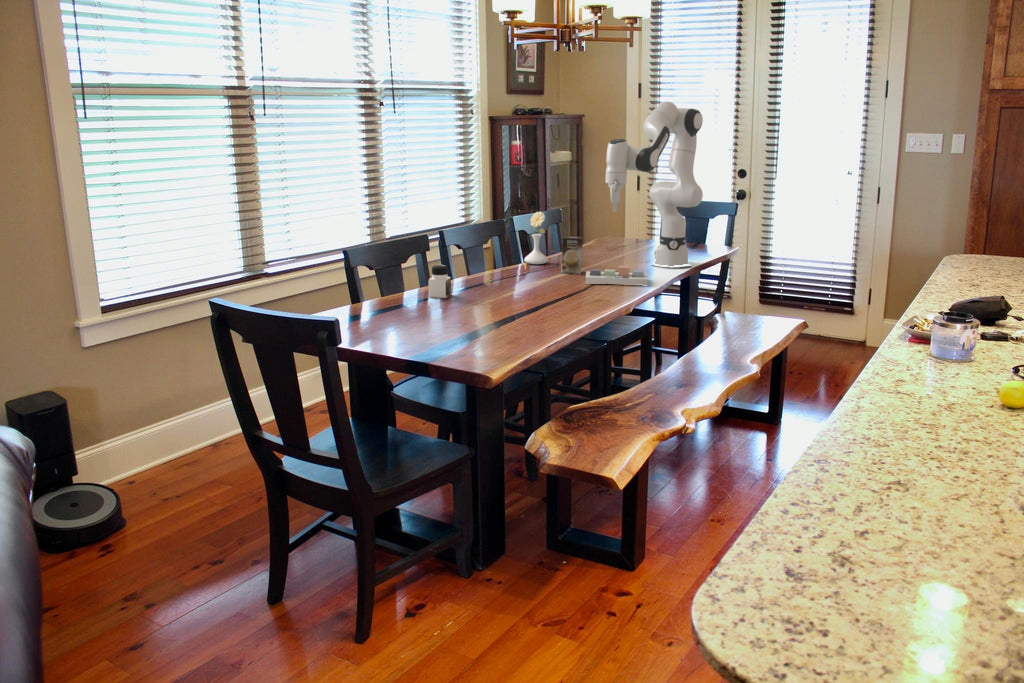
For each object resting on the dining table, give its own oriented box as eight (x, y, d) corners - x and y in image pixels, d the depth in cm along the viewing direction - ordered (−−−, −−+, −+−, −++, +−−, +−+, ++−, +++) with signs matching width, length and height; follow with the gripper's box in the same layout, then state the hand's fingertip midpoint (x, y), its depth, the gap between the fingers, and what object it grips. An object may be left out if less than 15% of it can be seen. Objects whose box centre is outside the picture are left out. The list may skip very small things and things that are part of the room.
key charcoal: (590, 278, 370) (590, 268, 369) (600, 279, 370) (600, 269, 368) (589, 280, 366) (590, 270, 365) (600, 281, 365) (600, 271, 364)
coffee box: (560, 273, 384) (561, 237, 379) (561, 271, 390) (562, 235, 385) (581, 274, 383) (582, 238, 378) (581, 271, 389) (582, 236, 385)
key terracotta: (618, 275, 368) (618, 265, 367) (628, 276, 368) (629, 266, 367) (618, 277, 364) (618, 267, 363) (628, 278, 364) (629, 267, 363)
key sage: (604, 279, 369) (604, 269, 368) (614, 279, 369) (614, 269, 368) (604, 281, 365) (604, 271, 364) (614, 281, 365) (614, 271, 364)
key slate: (632, 280, 368) (632, 270, 367) (642, 280, 368) (643, 270, 367) (632, 282, 364) (633, 272, 363) (643, 282, 364) (643, 272, 362)
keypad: (586, 277, 375) (586, 270, 374) (646, 279, 372) (646, 272, 371) (585, 284, 362) (585, 276, 361) (647, 286, 359) (648, 278, 358)
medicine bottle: (446, 298, 332) (445, 267, 329) (428, 297, 334) (428, 266, 331) (451, 294, 339) (450, 264, 336) (433, 293, 341) (433, 263, 337)
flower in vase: (520, 262, 409) (520, 209, 403) (541, 260, 414) (542, 208, 407) (532, 267, 398) (533, 212, 391) (553, 265, 403) (555, 211, 396)
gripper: (624, 181, 351) (622, 215, 355) (623, 177, 371) (621, 209, 374) (608, 180, 352) (607, 214, 355) (608, 176, 371) (607, 208, 375)
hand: (614, 211), depth 365 cm, fingers closed
